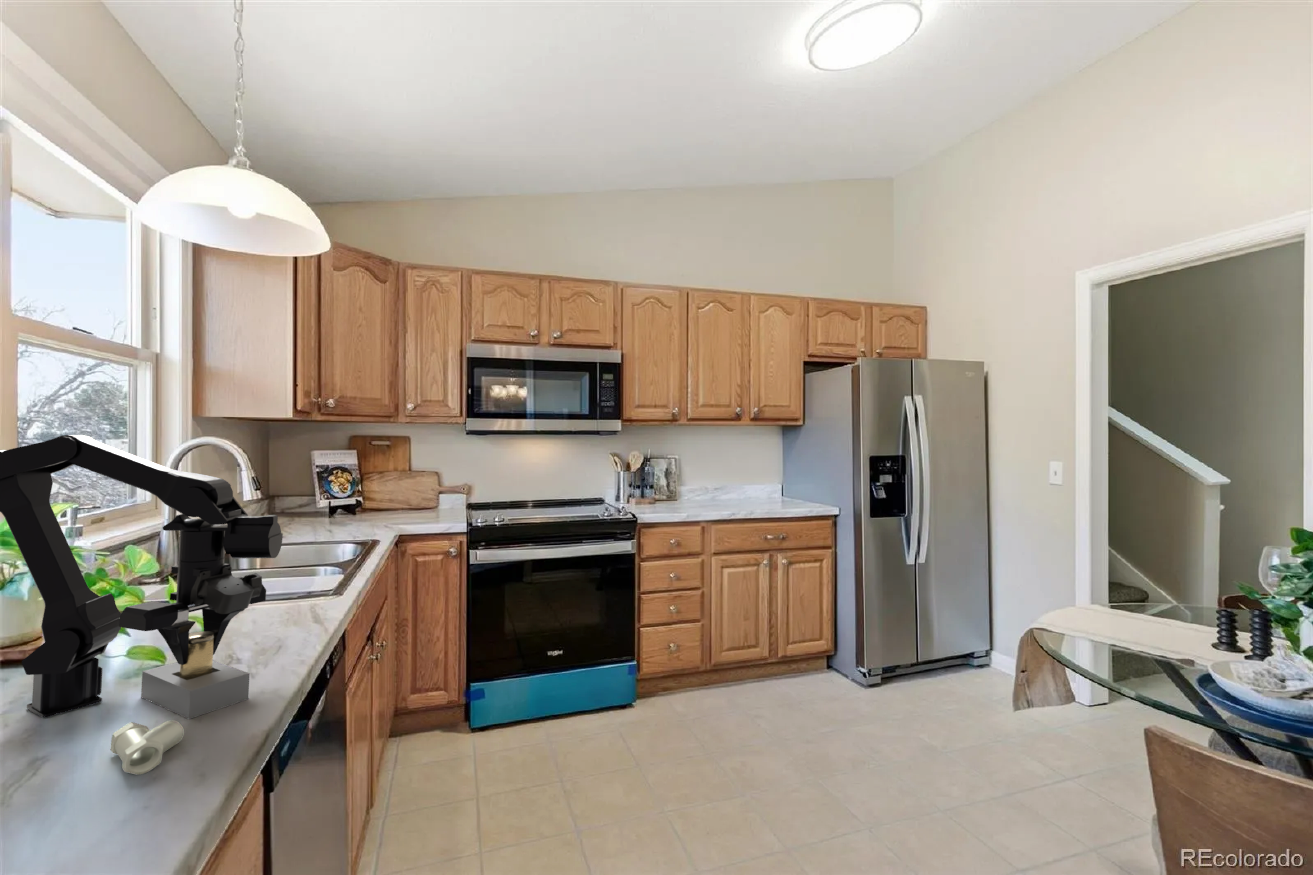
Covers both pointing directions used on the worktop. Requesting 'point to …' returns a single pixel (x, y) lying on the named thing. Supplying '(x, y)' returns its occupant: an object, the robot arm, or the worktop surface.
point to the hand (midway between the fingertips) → (196, 659)
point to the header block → (195, 689)
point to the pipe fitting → (144, 745)
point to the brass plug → (198, 655)
